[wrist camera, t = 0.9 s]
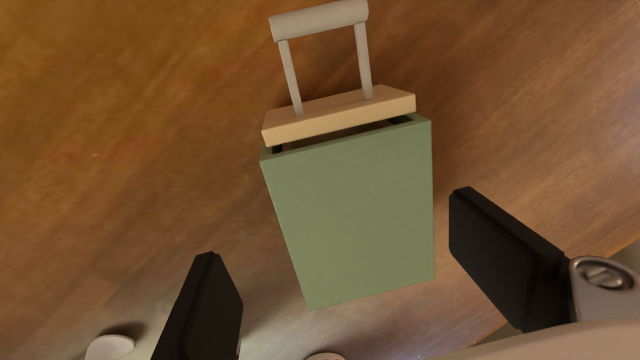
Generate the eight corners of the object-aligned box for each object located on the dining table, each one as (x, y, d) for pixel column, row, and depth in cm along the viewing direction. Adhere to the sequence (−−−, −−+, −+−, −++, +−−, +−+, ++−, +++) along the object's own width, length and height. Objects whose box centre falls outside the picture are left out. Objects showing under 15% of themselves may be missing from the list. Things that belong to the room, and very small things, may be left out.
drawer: (243, 31, 21) (227, 21, 15) (373, 2, 21) (410, -20, 15) (302, 233, 29) (307, 279, 23) (393, 210, 30) (422, 250, 24)
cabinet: (266, 128, 25) (258, 161, 17) (386, 100, 25) (431, 119, 18) (302, 248, 31) (308, 311, 24) (397, 224, 32) (435, 279, 24)
